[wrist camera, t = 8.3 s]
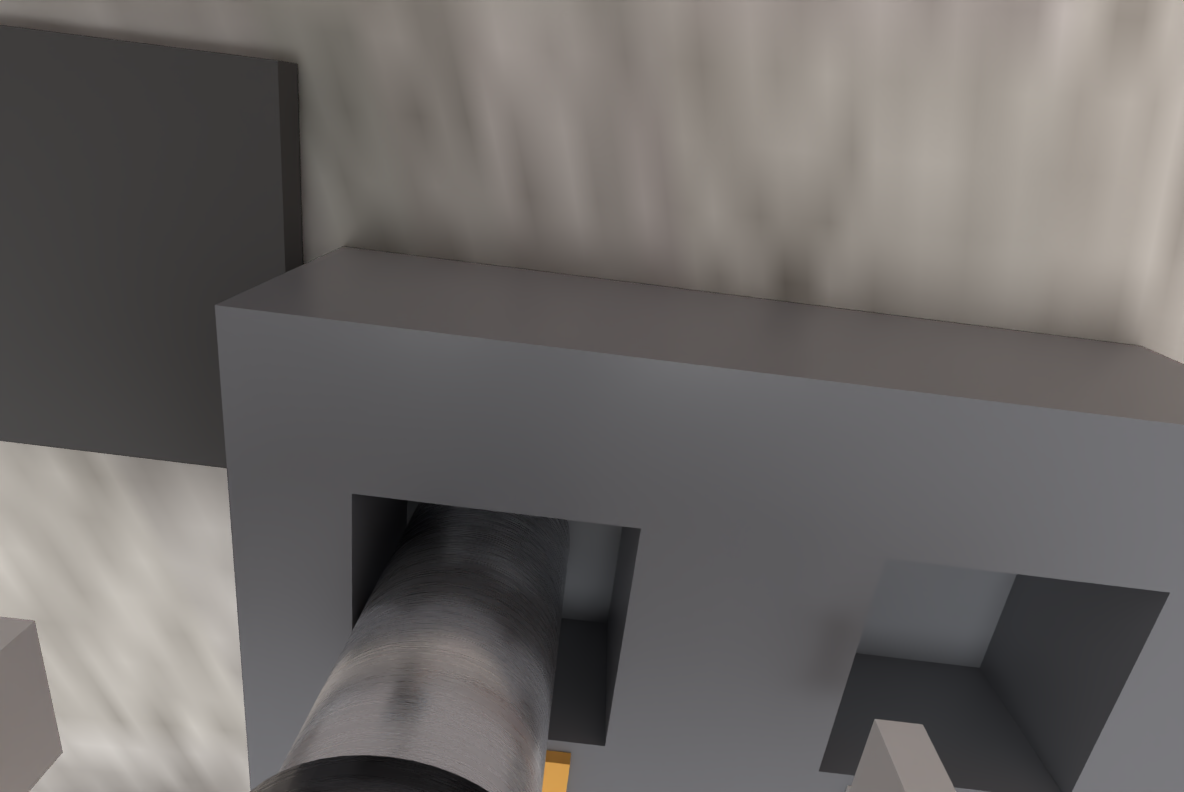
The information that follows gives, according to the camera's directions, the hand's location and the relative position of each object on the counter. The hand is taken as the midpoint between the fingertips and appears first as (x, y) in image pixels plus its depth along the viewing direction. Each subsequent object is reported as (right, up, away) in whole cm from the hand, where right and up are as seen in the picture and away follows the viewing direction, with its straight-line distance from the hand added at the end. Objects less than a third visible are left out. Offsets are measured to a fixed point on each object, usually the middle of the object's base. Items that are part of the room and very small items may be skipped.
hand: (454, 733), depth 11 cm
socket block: (+5, +2, +8) cm, 10 cm away
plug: (0, +2, +7) cm, 7 cm away
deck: (-10, +9, +6) cm, 15 cm away
